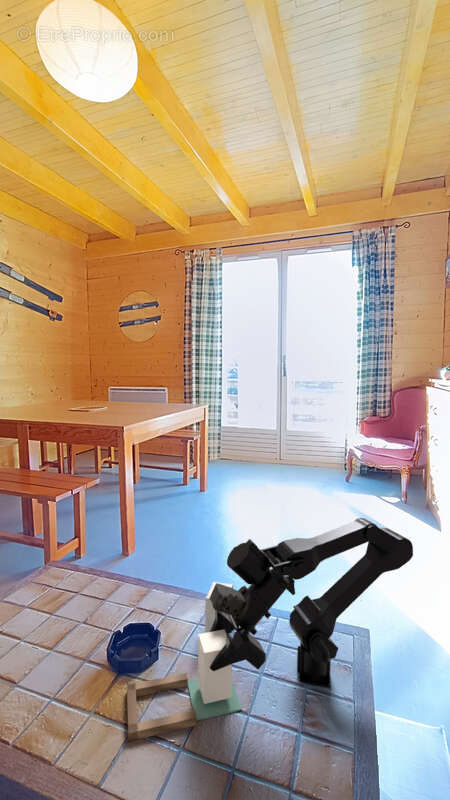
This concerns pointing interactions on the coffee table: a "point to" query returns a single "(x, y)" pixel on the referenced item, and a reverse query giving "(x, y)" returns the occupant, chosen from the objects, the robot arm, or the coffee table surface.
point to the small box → (211, 608)
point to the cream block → (211, 682)
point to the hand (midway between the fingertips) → (207, 658)
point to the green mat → (214, 707)
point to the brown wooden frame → (157, 724)
